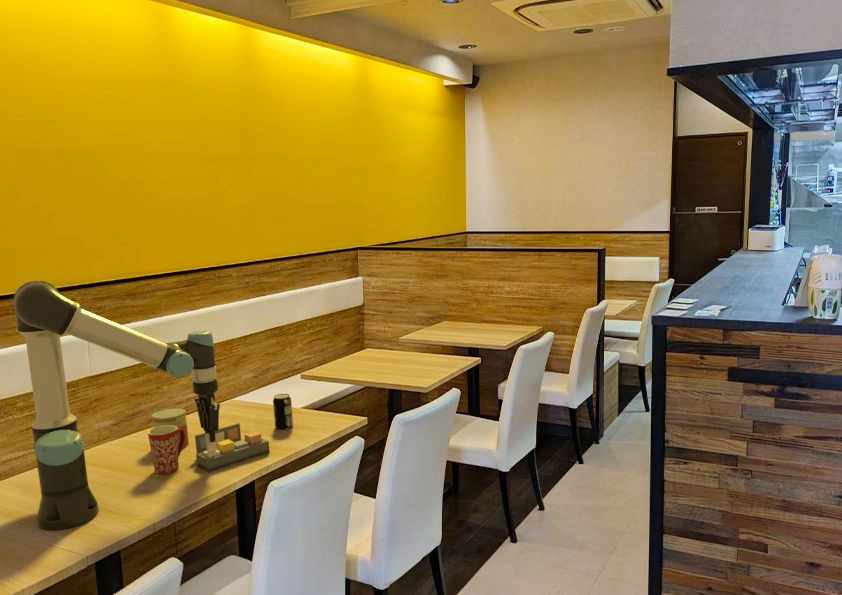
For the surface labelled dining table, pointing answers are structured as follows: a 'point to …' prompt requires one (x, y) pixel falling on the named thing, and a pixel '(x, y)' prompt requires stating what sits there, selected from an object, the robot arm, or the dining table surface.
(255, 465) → the dining table surface
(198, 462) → the frame
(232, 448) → the key mustard
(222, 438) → the placard
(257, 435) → the key terracotta
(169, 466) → the mug
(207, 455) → the key ivory
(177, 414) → the canned food
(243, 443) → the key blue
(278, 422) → the beverage can
